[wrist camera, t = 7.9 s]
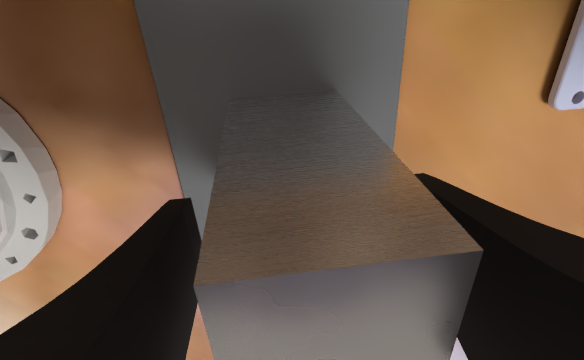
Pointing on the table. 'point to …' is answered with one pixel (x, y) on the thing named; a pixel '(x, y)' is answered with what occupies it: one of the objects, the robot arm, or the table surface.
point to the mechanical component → (24, 193)
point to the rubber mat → (266, 66)
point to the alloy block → (325, 241)
